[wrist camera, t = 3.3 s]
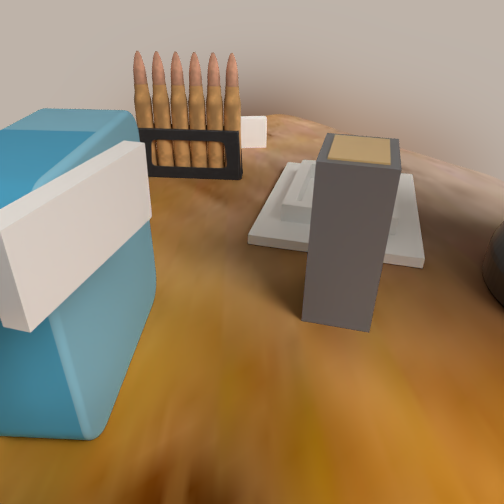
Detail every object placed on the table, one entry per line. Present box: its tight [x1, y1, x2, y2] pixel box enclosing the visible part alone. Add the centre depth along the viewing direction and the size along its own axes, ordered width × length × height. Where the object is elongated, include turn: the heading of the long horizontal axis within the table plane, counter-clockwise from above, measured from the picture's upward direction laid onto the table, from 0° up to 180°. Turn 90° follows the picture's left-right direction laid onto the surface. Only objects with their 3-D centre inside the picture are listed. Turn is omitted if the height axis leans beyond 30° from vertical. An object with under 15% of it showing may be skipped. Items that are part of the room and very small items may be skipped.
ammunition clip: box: [133, 51, 243, 180], centre depth 44 cm, size 11×2×12 cm, turn 86°
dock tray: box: [248, 160, 425, 268], centre depth 39 cm, size 13×17×4 cm
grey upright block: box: [301, 133, 401, 332], centre depth 26 cm, size 4×5×10 cm
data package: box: [0, 108, 156, 440], centre depth 21 cm, size 12×4×12 cm, turn 177°
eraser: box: [241, 116, 267, 148], centre depth 54 cm, size 1×5×4 cm, turn 96°
